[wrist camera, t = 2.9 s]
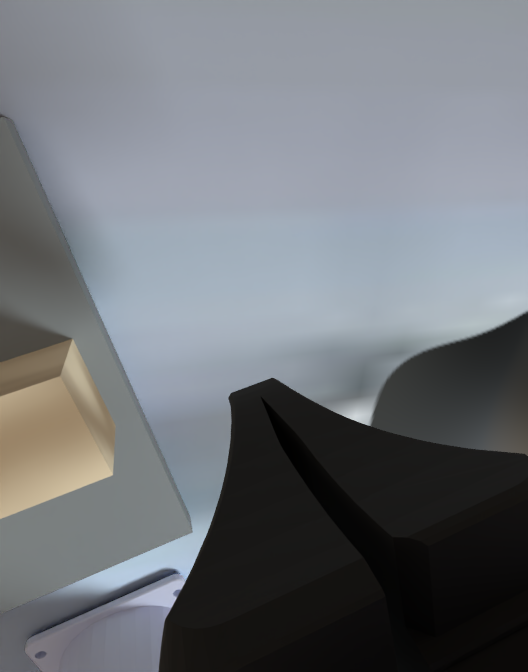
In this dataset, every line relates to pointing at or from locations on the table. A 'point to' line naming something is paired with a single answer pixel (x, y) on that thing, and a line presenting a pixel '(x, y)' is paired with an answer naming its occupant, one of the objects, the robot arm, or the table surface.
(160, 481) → the slate board
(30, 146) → the table surface
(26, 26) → the table surface
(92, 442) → the t block
